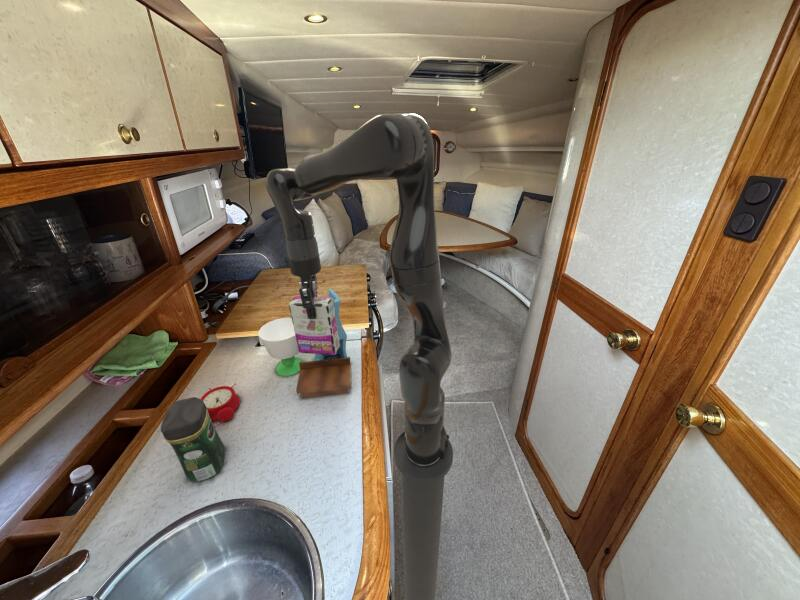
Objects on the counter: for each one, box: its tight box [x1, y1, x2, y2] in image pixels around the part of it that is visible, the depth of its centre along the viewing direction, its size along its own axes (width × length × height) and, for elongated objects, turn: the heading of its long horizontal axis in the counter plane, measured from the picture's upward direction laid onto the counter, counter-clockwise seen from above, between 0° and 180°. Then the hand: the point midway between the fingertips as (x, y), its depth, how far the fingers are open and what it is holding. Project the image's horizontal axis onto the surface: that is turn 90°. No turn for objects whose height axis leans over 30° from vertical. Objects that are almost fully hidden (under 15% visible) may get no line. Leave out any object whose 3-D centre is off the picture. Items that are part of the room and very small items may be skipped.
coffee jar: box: [160, 396, 226, 483], centre depth 72 cm, size 10×8×19 cm
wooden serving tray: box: [295, 356, 352, 399], centre depth 98 cm, size 16×10×6 cm, turn 98°
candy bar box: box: [288, 295, 340, 356], centre depth 88 cm, size 11×5×16 cm, turn 82°
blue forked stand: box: [314, 288, 348, 361], centre depth 104 cm, size 10×10×25 cm
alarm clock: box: [200, 382, 241, 428], centre depth 90 cm, size 10×6×15 cm
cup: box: [258, 317, 303, 377], centre depth 104 cm, size 14×14×16 cm
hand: (313, 312), depth 86 cm, fingers closed on candy bar box, 5 cm apart
